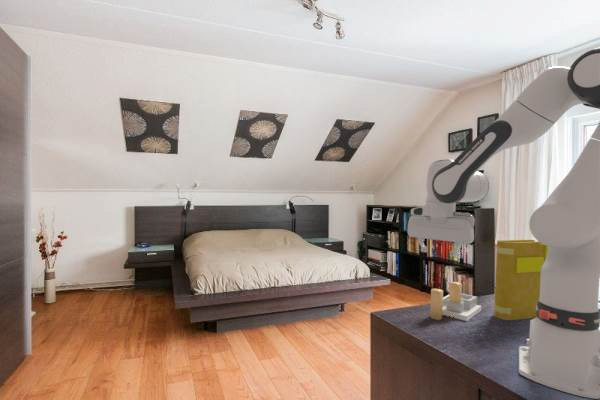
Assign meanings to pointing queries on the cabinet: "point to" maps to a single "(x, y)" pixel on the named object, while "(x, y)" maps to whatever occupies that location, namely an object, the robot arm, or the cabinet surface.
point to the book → (518, 278)
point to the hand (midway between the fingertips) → (438, 254)
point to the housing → (460, 303)
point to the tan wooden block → (436, 304)
